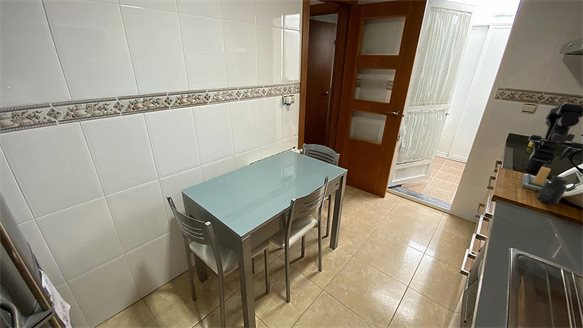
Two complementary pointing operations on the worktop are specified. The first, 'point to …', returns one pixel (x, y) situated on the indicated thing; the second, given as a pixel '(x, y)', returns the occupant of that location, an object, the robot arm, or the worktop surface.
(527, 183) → the grey rail base
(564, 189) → the supplement bottle
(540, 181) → the handle
